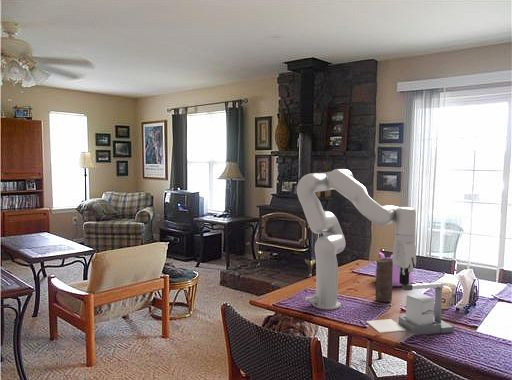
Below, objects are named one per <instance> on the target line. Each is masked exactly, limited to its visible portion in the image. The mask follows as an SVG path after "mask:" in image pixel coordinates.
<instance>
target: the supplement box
mask: <svg viewBox="0 0 512 380" xmlns="http://www.w3.org/2000/svg"><path fill="white" fill-rule="evenodd" d="M405 296H406V300H405V301H406V302H405V316H406V320H408V321H409V322H411V323H412V324H414V325H415V326H420V325H431V324H433V315H435V297H432V296H430V295H428V294H424V293H421V292H417V293H412V294H411V293H410V294H407V295H405Z"/></svg>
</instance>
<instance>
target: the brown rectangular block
mask: <svg viewBox="0 0 512 380" xmlns="http://www.w3.org/2000/svg"><path fill="white" fill-rule="evenodd" d="M376 268H377V269H376ZM376 268H375V272H376V277H375V299H376V300H377V302H391V301H392V300H393V287H392V273H393V261H392V259H391V257H385V258H381V257H379V258H376Z"/></svg>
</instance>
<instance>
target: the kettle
mask: <svg viewBox="0 0 512 380" xmlns="http://www.w3.org/2000/svg"><path fill="white" fill-rule="evenodd" d="M378 254H379V255H380V258H386V257H385V254H384V253H383V252H378ZM390 258H391V259H393V254H391V255H390ZM376 269H377V267H376V268H375V270H376ZM374 273H375V274H374V277H375V278H376V271H375V272H374ZM399 280H400V273H399V268H398V267H397V266H396V265H395V264H393V273H392V288H394V287H402V284H400V283H399ZM413 280H414V278H413V272H410V275H409V284H412V282H413Z"/></svg>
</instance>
